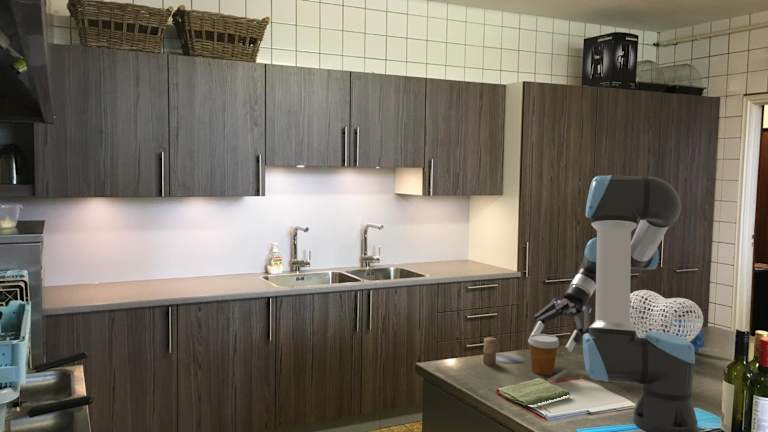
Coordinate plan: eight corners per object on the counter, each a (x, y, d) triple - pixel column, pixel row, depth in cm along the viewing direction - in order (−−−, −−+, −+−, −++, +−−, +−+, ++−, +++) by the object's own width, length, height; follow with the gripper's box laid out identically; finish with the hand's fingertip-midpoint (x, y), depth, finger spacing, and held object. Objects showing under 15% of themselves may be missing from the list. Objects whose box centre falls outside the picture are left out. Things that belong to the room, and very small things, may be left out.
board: (509, 376, 203) (509, 372, 203) (474, 367, 211) (475, 363, 211) (539, 361, 219) (539, 357, 218) (505, 353, 226) (506, 350, 226)
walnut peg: (491, 366, 208) (492, 341, 208) (480, 363, 211) (481, 339, 210) (498, 363, 211) (499, 339, 211) (487, 360, 214) (488, 336, 213)
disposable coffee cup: (522, 376, 203) (524, 338, 202) (531, 368, 211) (532, 332, 210) (553, 382, 198) (555, 343, 197) (560, 373, 207) (562, 336, 206)
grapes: (665, 350, 236) (667, 317, 235) (672, 346, 241) (675, 314, 240) (699, 357, 228) (701, 323, 227) (706, 354, 233) (708, 320, 232)
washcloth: (494, 396, 187) (495, 385, 187) (539, 386, 196) (540, 375, 196) (527, 411, 176) (527, 400, 176) (573, 400, 185) (574, 389, 185)
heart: (611, 349, 235) (614, 288, 233) (640, 344, 243) (644, 285, 241) (679, 372, 211) (684, 304, 209) (710, 366, 218) (714, 300, 216)
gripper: (618, 306, 208) (588, 361, 200) (552, 292, 227) (523, 341, 219) (610, 291, 204) (579, 346, 196) (543, 278, 223) (513, 328, 215)
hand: (549, 344), depth 207 cm, fingers open, 13 cm apart
